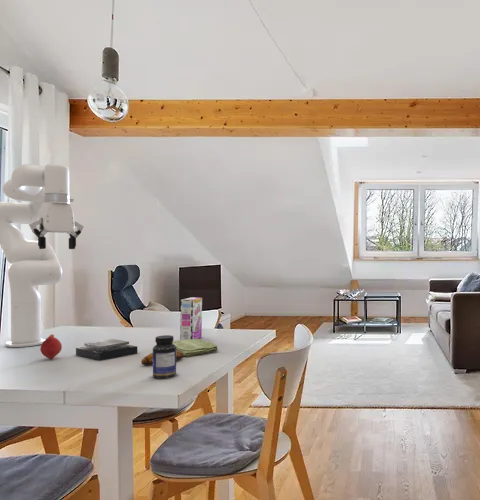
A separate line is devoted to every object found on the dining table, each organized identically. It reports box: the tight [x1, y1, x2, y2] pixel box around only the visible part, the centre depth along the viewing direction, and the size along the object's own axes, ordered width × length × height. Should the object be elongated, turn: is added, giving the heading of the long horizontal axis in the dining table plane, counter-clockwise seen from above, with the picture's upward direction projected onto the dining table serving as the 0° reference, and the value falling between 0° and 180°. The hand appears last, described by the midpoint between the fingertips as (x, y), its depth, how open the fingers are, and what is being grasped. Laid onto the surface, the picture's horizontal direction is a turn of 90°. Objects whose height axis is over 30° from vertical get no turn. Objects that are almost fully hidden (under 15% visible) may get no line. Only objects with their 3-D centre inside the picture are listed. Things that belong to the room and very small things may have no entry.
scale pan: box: [83, 338, 130, 349], centre depth 162 cm, size 10×10×1 cm
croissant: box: [140, 350, 185, 366], centre depth 149 cm, size 14×7×5 cm, turn 138°
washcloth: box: [173, 338, 219, 357], centre depth 167 cm, size 13×18×3 cm
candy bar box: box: [179, 296, 203, 341], centre depth 188 cm, size 11×5×16 cm, turn 178°
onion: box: [40, 333, 63, 360], centre depth 155 cm, size 6×6×8 cm
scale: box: [75, 344, 138, 361], centre depth 162 cm, size 15×13×3 cm
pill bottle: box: [152, 334, 177, 380], centre depth 133 cm, size 6×6×11 cm
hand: (57, 248), depth 166 cm, fingers open, 9 cm apart
